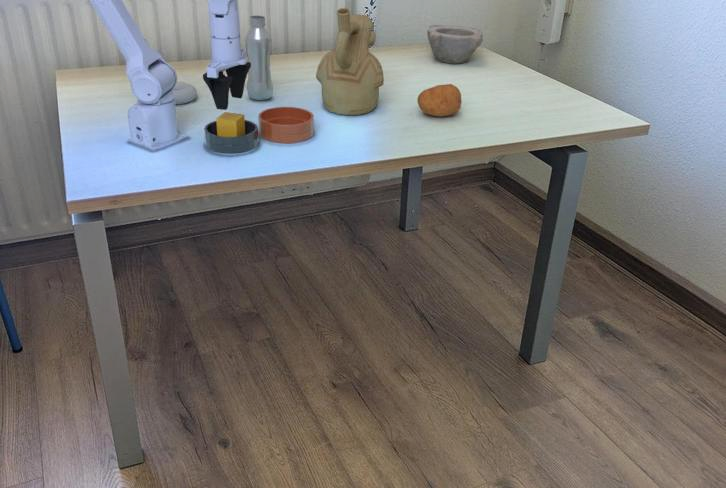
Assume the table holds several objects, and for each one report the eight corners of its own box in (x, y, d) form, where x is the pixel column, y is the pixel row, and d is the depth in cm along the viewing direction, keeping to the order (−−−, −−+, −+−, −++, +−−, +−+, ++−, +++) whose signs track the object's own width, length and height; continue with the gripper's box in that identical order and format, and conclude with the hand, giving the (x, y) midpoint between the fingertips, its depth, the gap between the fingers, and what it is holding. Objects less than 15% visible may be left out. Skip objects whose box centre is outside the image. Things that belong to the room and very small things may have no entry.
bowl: (290, 150, 141) (290, 129, 139) (247, 136, 147) (247, 116, 145) (324, 134, 150) (324, 114, 148) (283, 121, 156) (282, 103, 153)
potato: (466, 120, 162) (470, 90, 158) (423, 123, 159) (426, 92, 155) (452, 107, 169) (456, 78, 165) (410, 110, 166) (413, 80, 163)
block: (237, 148, 140) (236, 121, 137) (218, 145, 140) (216, 118, 137) (245, 141, 143) (244, 114, 140) (226, 138, 144) (224, 111, 141)
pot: (233, 160, 136) (232, 141, 134) (194, 146, 141) (193, 128, 139) (269, 144, 144) (268, 126, 142) (231, 132, 149) (230, 115, 147)
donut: (148, 104, 163) (187, 107, 161) (146, 90, 161) (185, 93, 159) (167, 92, 171) (204, 95, 169) (165, 78, 169) (202, 82, 168)
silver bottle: (260, 92, 173) (257, 12, 163) (278, 98, 170) (277, 17, 159) (241, 98, 169) (237, 16, 159) (260, 104, 165) (256, 21, 155)
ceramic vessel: (390, 100, 172) (397, -2, 160) (371, 125, 156) (376, 14, 143) (328, 92, 176) (329, -8, 163) (302, 116, 160) (301, 7, 147)
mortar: (478, 55, 215) (482, 25, 210) (479, 69, 200) (483, 38, 196) (426, 51, 217) (429, 22, 212) (423, 65, 202) (426, 34, 197)
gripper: (229, 46, 124) (233, 116, 131) (258, 29, 136) (261, 94, 143) (194, 42, 125) (200, 112, 132) (226, 26, 137) (230, 91, 144)
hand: (229, 103), depth 137 cm, fingers open, 7 cm apart
